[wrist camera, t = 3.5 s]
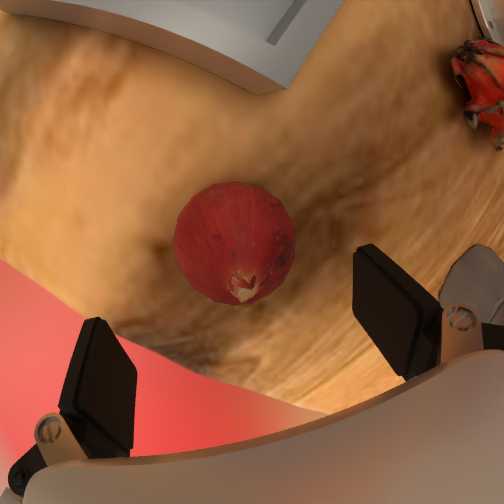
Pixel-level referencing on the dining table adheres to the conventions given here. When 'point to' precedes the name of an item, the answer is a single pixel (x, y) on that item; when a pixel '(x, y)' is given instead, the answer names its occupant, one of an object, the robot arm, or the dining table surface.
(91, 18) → the charcoal bin
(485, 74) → the dragon fruit
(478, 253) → the coffeepot
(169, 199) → the dining table surface
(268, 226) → the onion
